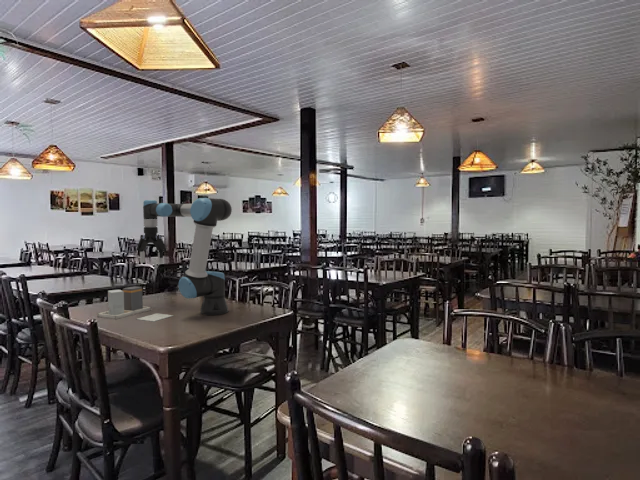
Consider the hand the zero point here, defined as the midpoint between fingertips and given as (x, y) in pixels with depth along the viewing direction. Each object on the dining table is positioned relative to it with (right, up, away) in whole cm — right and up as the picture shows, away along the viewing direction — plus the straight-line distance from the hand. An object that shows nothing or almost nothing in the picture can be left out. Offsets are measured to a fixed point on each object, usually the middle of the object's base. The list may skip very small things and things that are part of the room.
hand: (151, 263), depth 245 cm
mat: (+11, -28, -22) cm, 37 cm away
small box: (-12, -27, -17) cm, 34 cm away
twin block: (-8, -27, -6) cm, 29 cm away
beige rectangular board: (-10, -27, -12) cm, 31 cm away
